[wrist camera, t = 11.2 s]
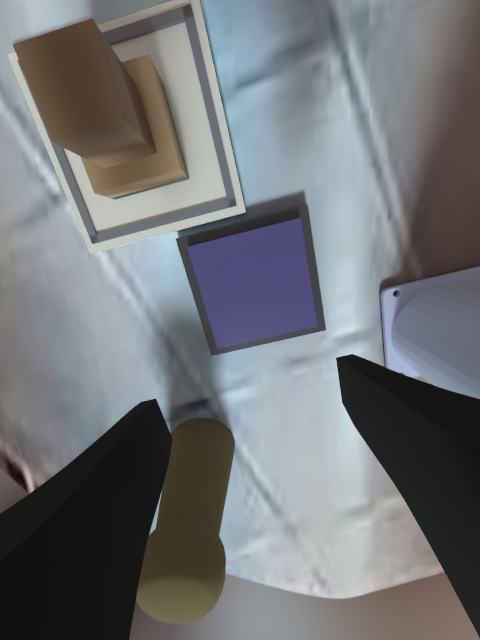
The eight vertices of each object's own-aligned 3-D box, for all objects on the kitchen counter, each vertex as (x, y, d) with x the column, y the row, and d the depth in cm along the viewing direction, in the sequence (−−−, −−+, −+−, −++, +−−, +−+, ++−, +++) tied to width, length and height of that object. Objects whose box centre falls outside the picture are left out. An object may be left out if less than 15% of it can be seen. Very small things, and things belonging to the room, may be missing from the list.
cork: (163, 421, 23) (100, 578, 12) (230, 414, 23) (223, 567, 12) (177, 472, 25) (131, 646, 14) (238, 466, 24) (238, 638, 14)
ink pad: (304, 205, 17) (309, 203, 16) (322, 326, 20) (328, 332, 19) (178, 238, 18) (173, 238, 17) (212, 351, 21) (210, 359, 19)
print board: (199, 4, 14) (197, -12, 13) (245, 213, 17) (246, 211, 16) (18, 63, 15) (4, 51, 14) (96, 252, 18) (88, 253, 17)
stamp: (163, 83, 15) (107, -30, 8) (189, 179, 16) (158, 142, 10) (82, 108, 15) (-29, 16, 9) (115, 199, 16) (40, 176, 10)
